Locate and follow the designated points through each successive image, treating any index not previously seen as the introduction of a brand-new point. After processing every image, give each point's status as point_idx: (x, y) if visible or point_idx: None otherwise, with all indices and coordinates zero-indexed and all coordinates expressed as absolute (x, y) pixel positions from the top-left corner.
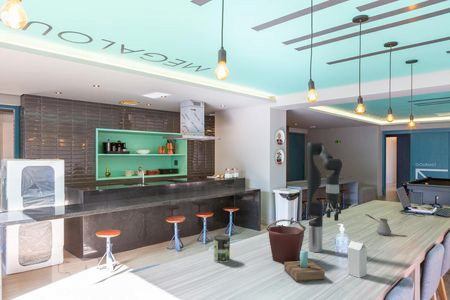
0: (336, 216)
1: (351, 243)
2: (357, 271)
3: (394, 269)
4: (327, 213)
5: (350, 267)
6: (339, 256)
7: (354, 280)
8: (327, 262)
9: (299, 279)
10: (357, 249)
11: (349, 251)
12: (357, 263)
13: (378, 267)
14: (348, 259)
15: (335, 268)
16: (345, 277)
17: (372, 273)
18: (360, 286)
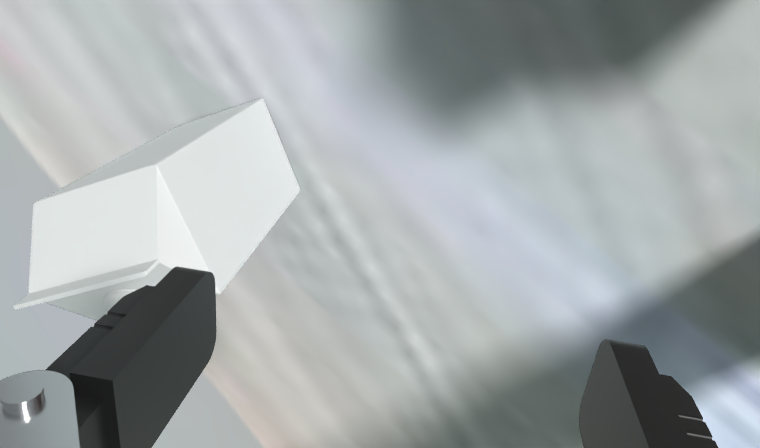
0: (77, 354)
1: (139, 228)
2: (169, 132)
3: (274, 439)
4: (637, 433)
5: (219, 118)
6: (627, 312)
7: (144, 57)
8: (546, 112)
9: None
10: (55, 199)
11: (159, 155)
12: (135, 151)
13: (326, 387)
14: (208, 128)
15: (394, 82)
16: (205, 28)
17: (241, 274)
18: (43, 21)
